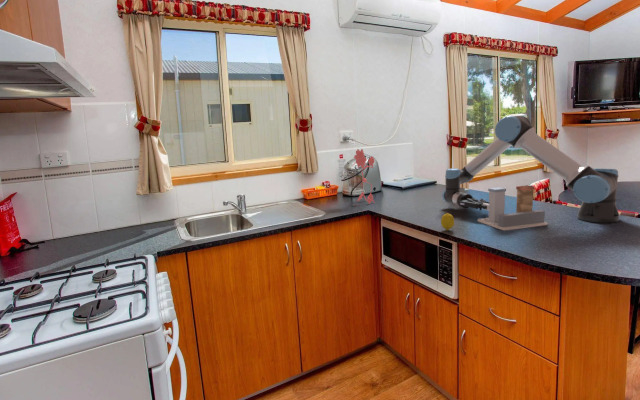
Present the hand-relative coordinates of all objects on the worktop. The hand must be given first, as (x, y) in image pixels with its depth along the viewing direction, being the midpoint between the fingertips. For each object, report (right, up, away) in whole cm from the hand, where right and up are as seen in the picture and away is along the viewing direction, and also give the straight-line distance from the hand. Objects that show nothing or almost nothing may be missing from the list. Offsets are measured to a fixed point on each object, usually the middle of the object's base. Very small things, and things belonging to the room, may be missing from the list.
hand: (492, 208), depth 167 cm
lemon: (-23, -10, -7) cm, 26 cm away
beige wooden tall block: (+14, -5, -1) cm, 15 cm away
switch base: (+8, -7, -1) cm, 10 cm away
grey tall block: (+1, -6, -1) cm, 6 cm away
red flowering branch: (-54, +2, +65) cm, 85 cm away
